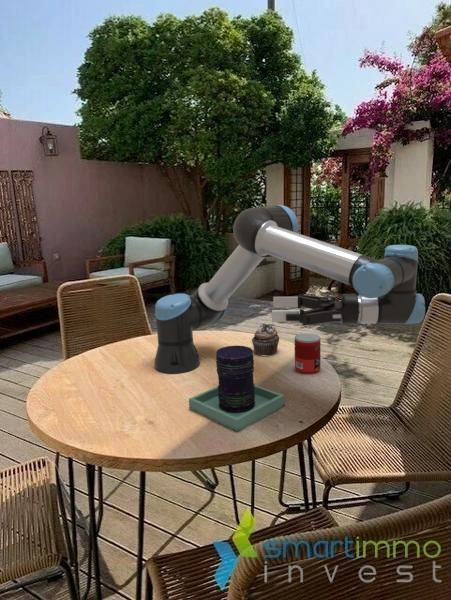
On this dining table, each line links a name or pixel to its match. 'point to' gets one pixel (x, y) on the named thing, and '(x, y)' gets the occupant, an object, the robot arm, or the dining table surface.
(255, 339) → the cupcake
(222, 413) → the tray
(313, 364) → the canned food
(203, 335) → the dining table surface
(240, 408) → the dark blue ribbed cylinder
